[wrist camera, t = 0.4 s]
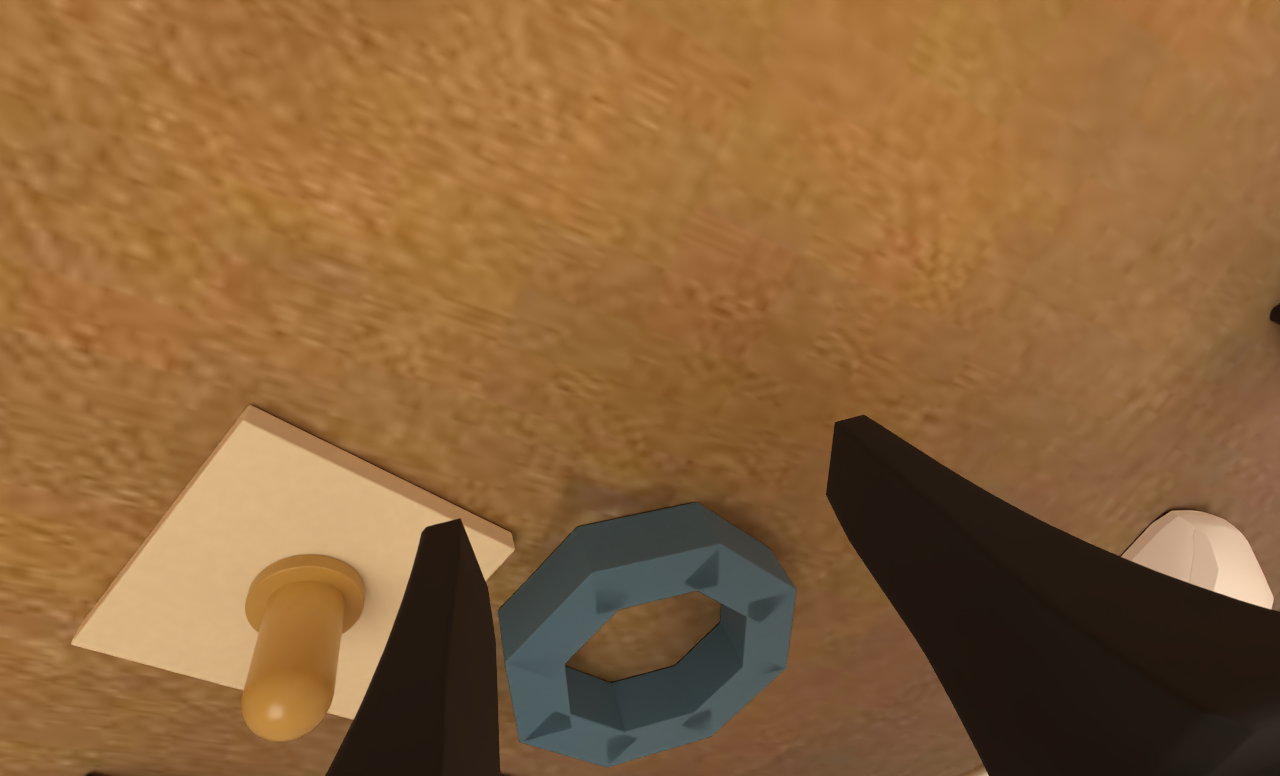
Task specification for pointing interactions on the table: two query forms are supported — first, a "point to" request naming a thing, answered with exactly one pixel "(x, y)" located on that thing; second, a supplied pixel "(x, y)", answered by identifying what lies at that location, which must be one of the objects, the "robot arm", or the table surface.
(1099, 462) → the table surface
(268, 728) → the peg stand
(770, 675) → the ring
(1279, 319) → the mate gourd
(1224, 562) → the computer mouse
